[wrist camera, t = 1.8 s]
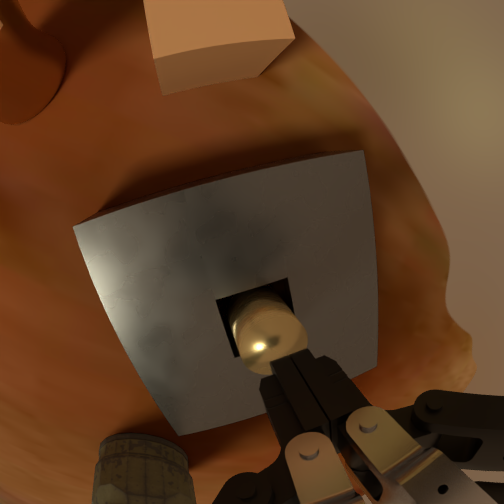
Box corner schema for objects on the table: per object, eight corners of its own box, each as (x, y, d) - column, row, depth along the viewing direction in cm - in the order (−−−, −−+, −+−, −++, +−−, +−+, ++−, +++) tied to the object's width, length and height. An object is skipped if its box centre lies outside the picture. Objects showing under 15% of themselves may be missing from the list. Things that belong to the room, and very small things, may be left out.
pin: (220, 295, 14) (232, 331, 11) (276, 277, 15) (302, 307, 12) (234, 341, 15) (249, 382, 12) (286, 324, 16) (311, 360, 13)
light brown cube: (147, 20, 12) (138, -37, 6) (237, 4, 13) (263, -50, 7) (162, 96, 14) (153, 59, 8) (257, 77, 15) (295, 38, 9)
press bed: (96, 212, 15) (72, 226, 11) (326, 151, 17) (363, 149, 13) (175, 396, 19) (178, 436, 15) (349, 337, 21) (376, 366, 18)
